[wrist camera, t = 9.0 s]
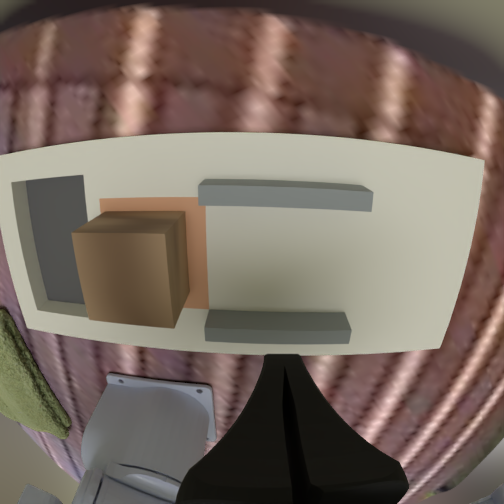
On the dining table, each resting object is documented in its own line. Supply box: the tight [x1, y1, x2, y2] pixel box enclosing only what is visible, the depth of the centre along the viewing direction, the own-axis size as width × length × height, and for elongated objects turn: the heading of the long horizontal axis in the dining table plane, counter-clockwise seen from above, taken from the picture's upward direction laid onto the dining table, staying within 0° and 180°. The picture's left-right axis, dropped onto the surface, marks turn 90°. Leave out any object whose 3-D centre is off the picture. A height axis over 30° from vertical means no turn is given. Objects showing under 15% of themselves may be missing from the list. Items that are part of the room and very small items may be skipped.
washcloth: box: [0, 309, 72, 439], centre depth 26 cm, size 13×18×3 cm
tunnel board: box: [0, 132, 484, 355], centre depth 19 cm, size 33×14×4 cm, turn 89°
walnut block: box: [71, 211, 190, 329], centre depth 17 cm, size 5×5×4 cm
